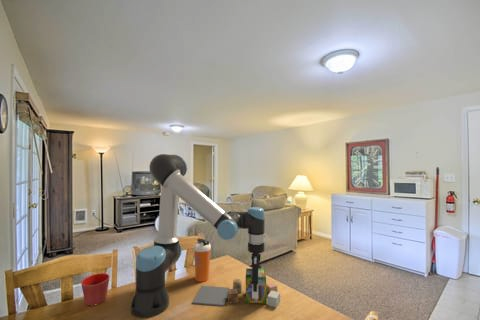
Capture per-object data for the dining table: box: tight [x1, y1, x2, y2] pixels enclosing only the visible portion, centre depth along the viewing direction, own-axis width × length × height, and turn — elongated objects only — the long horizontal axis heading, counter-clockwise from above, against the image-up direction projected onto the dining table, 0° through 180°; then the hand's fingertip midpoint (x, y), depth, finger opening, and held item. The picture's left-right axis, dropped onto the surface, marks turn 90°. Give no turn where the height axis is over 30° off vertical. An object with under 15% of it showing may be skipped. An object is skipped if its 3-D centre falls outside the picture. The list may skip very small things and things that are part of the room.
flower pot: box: [80, 272, 110, 306], centre depth 104 cm, size 11×11×10 cm
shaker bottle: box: [193, 238, 212, 283], centre depth 124 cm, size 9×9×20 cm
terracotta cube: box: [266, 281, 278, 296], centre depth 111 cm, size 4×4×4 cm
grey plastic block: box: [267, 290, 281, 308], centre depth 103 cm, size 4×5×4 cm
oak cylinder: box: [232, 278, 243, 295], centre depth 112 cm, size 4×4×5 cm
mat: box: [192, 285, 231, 307], centre depth 108 cm, size 14×14×1 cm
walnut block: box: [227, 288, 239, 304], centre depth 105 cm, size 4×4×4 cm
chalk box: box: [245, 268, 268, 304], centre depth 107 cm, size 9×9×15 cm
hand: (255, 290), depth 107 cm, fingers open, 12 cm apart
